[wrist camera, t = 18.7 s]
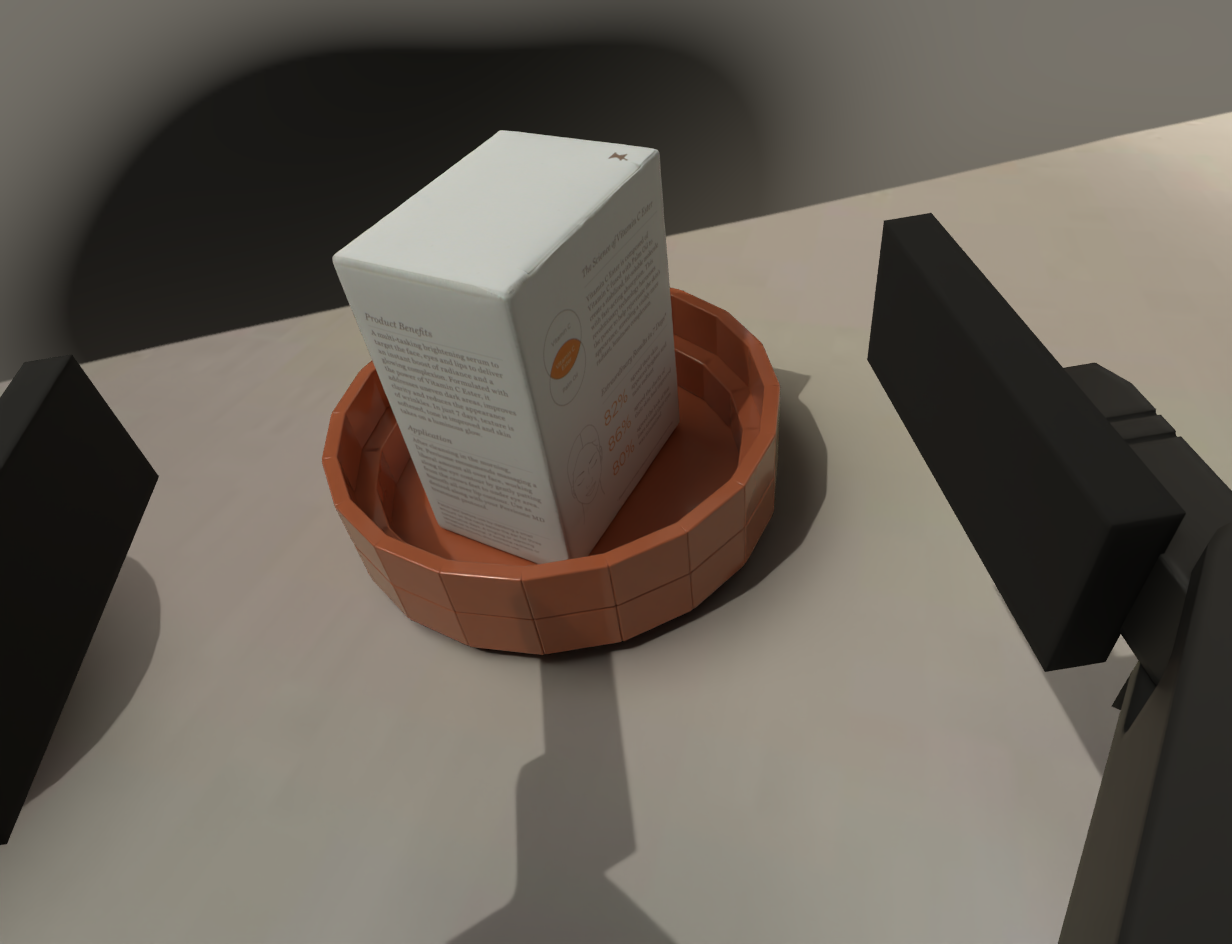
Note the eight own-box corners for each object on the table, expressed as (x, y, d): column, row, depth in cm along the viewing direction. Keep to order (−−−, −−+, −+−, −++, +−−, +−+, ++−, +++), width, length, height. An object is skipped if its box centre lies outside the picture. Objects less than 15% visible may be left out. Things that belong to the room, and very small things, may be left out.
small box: (556, 391, 33) (500, 123, 25) (684, 425, 30) (664, 141, 23) (433, 531, 28) (321, 252, 20) (574, 584, 25) (504, 292, 18)
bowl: (725, 337, 35) (723, 252, 32) (830, 618, 24) (841, 528, 21) (383, 393, 35) (352, 312, 32) (340, 699, 24) (286, 619, 21)
